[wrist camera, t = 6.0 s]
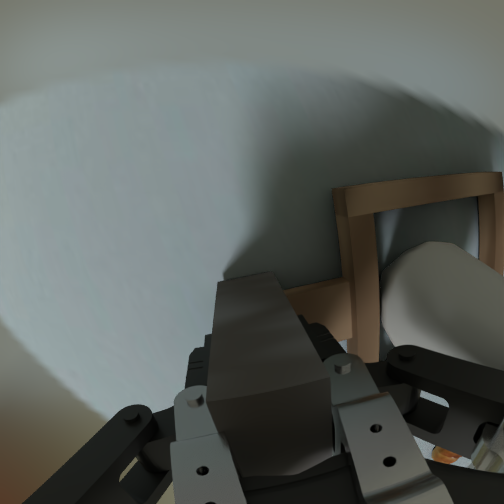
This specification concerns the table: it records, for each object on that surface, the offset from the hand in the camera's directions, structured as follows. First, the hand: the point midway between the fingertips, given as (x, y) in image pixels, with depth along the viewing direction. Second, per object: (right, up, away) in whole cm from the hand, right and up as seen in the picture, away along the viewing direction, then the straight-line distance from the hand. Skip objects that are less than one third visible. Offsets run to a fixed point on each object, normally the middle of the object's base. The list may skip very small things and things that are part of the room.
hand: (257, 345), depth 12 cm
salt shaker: (+8, +2, +3) cm, 9 cm away
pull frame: (+7, +2, +2) cm, 8 cm away
